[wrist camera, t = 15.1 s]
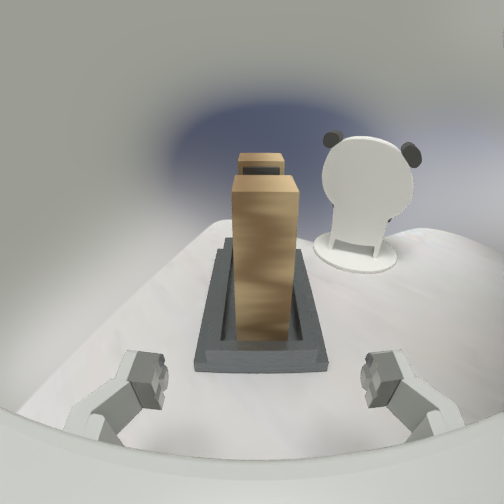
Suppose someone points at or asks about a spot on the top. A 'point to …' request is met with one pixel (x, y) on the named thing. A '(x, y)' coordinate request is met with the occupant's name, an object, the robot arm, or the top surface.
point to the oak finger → (264, 254)
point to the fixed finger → (260, 164)
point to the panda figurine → (364, 200)
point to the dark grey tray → (258, 352)
